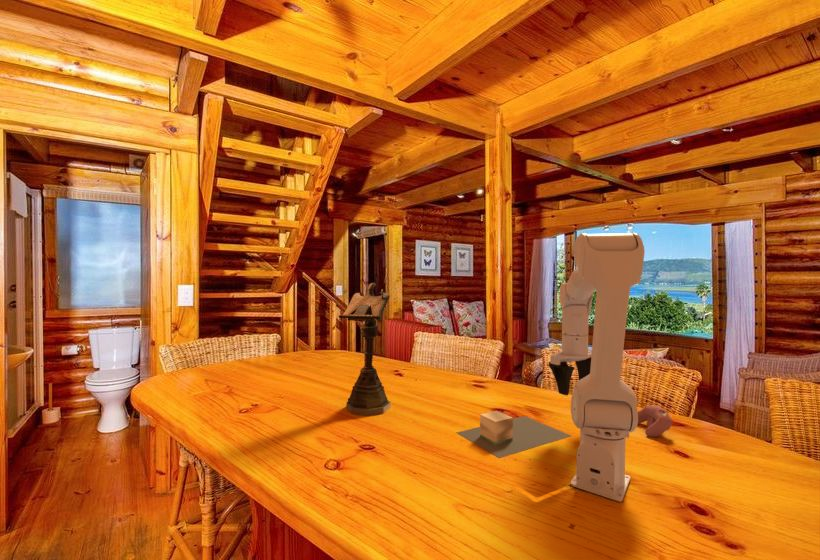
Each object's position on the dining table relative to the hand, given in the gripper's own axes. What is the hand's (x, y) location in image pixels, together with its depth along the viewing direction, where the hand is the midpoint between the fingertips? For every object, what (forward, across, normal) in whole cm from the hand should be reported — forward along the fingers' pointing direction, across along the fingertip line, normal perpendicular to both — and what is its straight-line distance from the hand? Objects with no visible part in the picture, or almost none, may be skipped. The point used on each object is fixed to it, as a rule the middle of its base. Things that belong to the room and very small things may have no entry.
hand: (574, 391), depth 90 cm
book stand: (+10, +37, -36) cm, 52 cm away
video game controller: (+10, -17, +8) cm, 22 cm away
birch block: (+4, +20, -5) cm, 21 cm away
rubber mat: (+9, +15, -5) cm, 18 cm away
